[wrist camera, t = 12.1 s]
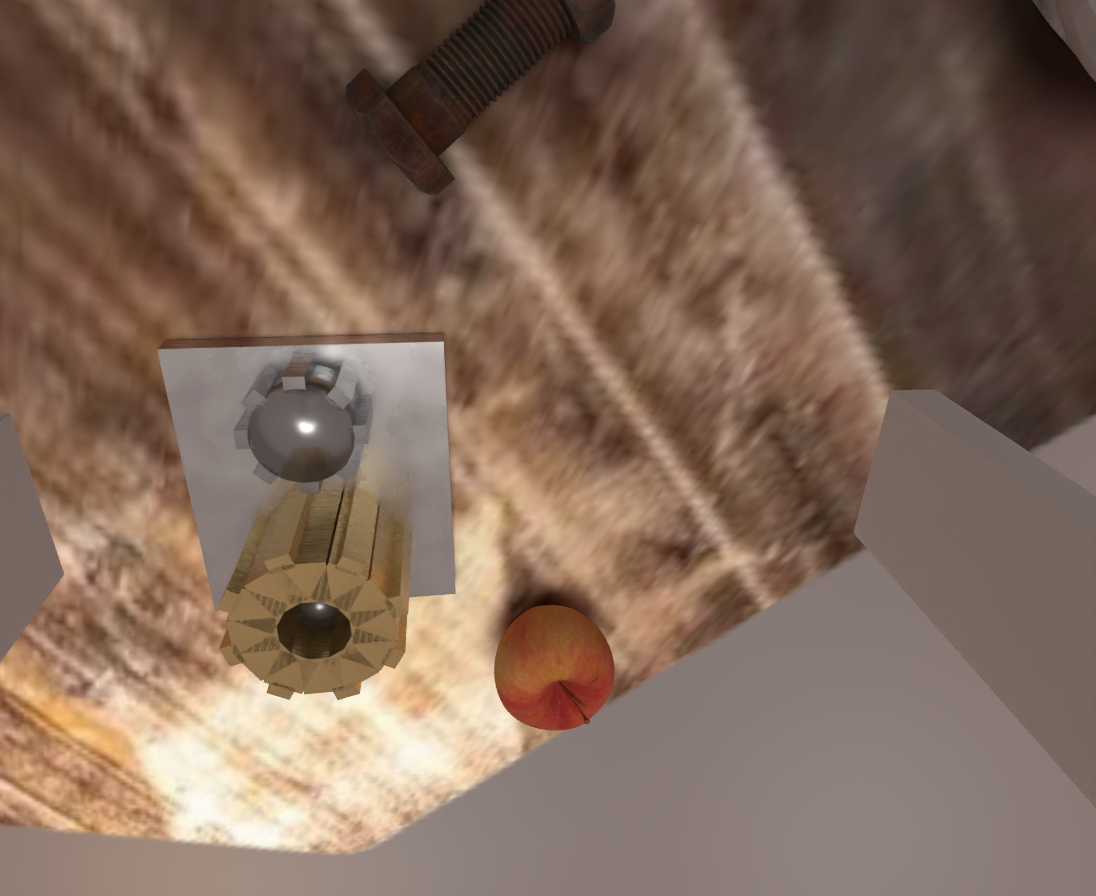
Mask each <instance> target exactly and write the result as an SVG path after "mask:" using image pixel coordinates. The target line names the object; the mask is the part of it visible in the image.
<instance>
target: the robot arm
mask: <svg viewBox="0 0 1096 896" xmlns="http://www.w3.org/2000/svg"><path fill="white" fill-rule="evenodd" d="M854 534H855V535H856V536H857V537H858V539H859V540H860V541H861V542H862V543H863V544H864V545H865V546H866V548H867V549H868V550H869V551H870V552H871V553H872V554H873V556H874V557H875V558H876V559H877V560H878V561H879V562H880V563H881V565H882V566H883V567H884V568H885V569H886V570H887V571H888V572H889V574H890V575H891V576H892V577H893V578H894V579H895V581H896V582H897V583H898V584H899V585H900V586H901V587H902V588H903V590H904V591H905V592H906V593H907V594H908V595H909V596H910V598H911V599H912V600H913V601H914V602H915V603H916V604H917V606H918V607H919V608H920V609H921V610H922V611H923V612H924V613H925V615H926V616H927V617H928V618H929V619H930V620H931V621H932V623H933V624H934V625H935V626H936V627H937V628H938V629H939V630H940V632H941V633H942V634H943V635H944V636H945V637H946V639H947V640H948V641H949V642H950V643H951V644H952V645H953V646H954V648H955V649H956V650H957V651H958V652H959V653H960V654H961V656H962V657H963V658H964V659H965V660H966V661H967V662H968V664H969V665H970V666H971V667H972V668H973V669H974V670H975V671H976V673H977V674H978V675H979V676H980V677H981V678H982V679H983V680H984V682H985V683H986V684H987V685H988V686H989V687H990V689H991V690H992V691H993V692H994V693H995V694H996V695H997V696H998V698H999V699H1000V700H1001V701H1002V702H1003V703H1004V704H1005V705H1006V707H1007V708H1008V709H1009V710H1010V711H1011V712H1012V714H1013V715H1014V716H1015V717H1016V718H1017V719H1018V720H1019V722H1020V723H1021V724H1022V725H1023V726H1024V727H1025V728H1026V729H1027V731H1028V732H1029V733H1030V734H1031V735H1032V736H1033V737H1034V739H1035V740H1036V741H1037V742H1038V743H1039V744H1040V745H1041V746H1042V748H1043V749H1044V750H1045V751H1046V752H1047V753H1048V754H1049V756H1050V757H1051V758H1052V759H1053V760H1054V761H1055V762H1056V764H1057V765H1058V766H1059V767H1060V768H1061V769H1062V770H1063V772H1064V773H1065V774H1066V775H1067V776H1068V777H1069V778H1070V779H1071V780H1072V782H1073V783H1074V784H1075V785H1076V786H1077V787H1078V789H1079V790H1080V791H1081V792H1082V793H1083V794H1084V795H1085V796H1086V798H1088V800H1089V801H1090V802H1091V803H1092V804H1093V806H1095V808H1096V496H1095V495H1093V494H1092V493H1090V492H1089V491H1087V490H1086V489H1084V488H1083V487H1081V486H1080V485H1078V484H1077V483H1075V482H1073V481H1072V480H1070V479H1069V478H1067V477H1066V476H1064V475H1063V474H1061V473H1060V472H1058V471H1057V470H1055V469H1054V468H1052V467H1051V466H1049V465H1048V464H1046V463H1045V462H1043V461H1042V460H1040V459H1039V458H1037V457H1036V456H1034V455H1033V454H1031V453H1030V452H1028V451H1027V450H1025V449H1024V448H1022V447H1021V446H1019V445H1018V444H1016V443H1015V442H1013V441H1012V440H1010V439H1009V438H1007V437H1006V436H1004V435H1003V434H1001V433H1000V432H998V431H997V430H995V429H994V428H992V427H991V426H989V425H988V424H986V423H984V422H983V421H981V420H980V419H978V418H977V417H975V416H974V415H972V414H971V413H969V412H968V411H966V410H965V409H963V408H962V407H960V406H959V405H957V404H956V403H954V402H953V401H951V400H950V399H948V398H947V397H945V396H944V395H942V394H941V393H939V392H938V391H936V390H898V391H891V393H890V396H889V400H888V404H887V408H886V412H885V415H884V419H883V423H882V427H881V431H880V435H879V438H878V442H877V446H876V450H875V454H874V457H873V461H872V465H871V469H870V473H869V476H868V480H867V484H866V488H865V492H864V495H863V499H862V503H861V507H860V511H859V514H858V518H857V522H856V526H855V530H854ZM63 575H64V572H63V569H62V566H61V563H60V560H59V557H58V554H57V551H56V548H55V545H54V542H53V539H52V536H51V533H50V530H49V527H48V524H47V521H46V518H45V515H44V512H43V509H42V506H41V503H40V500H39V497H38V494H37V491H36V488H35V485H34V482H33V479H32V476H31V473H30V470H29V467H28V464H27V461H26V458H25V455H24V452H23V449H22V446H21V443H20V440H19V437H18V434H17V431H16V428H15V425H14V423H13V420H12V417H11V414H10V413H4V414H0V662H1V660H2V659H3V658H4V656H5V655H6V653H7V652H8V651H9V649H10V648H11V647H12V645H13V644H14V642H15V641H16V640H17V638H18V637H19V636H20V634H21V633H22V631H23V630H24V629H25V627H26V626H27V625H28V623H29V622H30V620H31V619H32V618H33V616H34V615H35V614H36V612H37V611H38V609H39V608H40V607H41V605H42V604H43V603H44V601H45V600H46V598H47V597H48V596H49V594H50V593H51V592H52V590H53V589H54V587H55V586H56V585H57V583H58V582H59V581H60V579H61V578H62V576H63Z"/></svg>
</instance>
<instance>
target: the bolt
mask: <svg viewBox="0 0 1096 896" xmlns="http://www.w3.org/2000/svg"><path fill="white" fill-rule="evenodd" d="M479 11H480V13H478V12H474V14H473V15H474V19H473V18H471V17H469V18H468V24H466V23H463V24H462V29H457V30H456V34H457V35H454V34H451V35H450V40H451V41H450V40H447V39H445V40H444V44H445V46H444V45H439V46H438V48H439V51H436V50H433V51H432V52H433V57H432V56H429V55H428V56H427V57H426V58H427V61H428V62H425V61H422V62H420V63H419V64H418V65H417V66H416V67H412V68H411V69H410V70H408V71H407V72H406V73H405V74H404V75H403V76H402V77H401V78H400V79H399V80H398V81H397V82H395V83H394V84H393V85H392V86H391V87H390V88H389V89H388V90H387V91H386V92H385V91H384V90H383V89H382V87H381V86H380V85H379V84H378V83H377V82H376V80H375V79H374V78H373V77H372V76H371V74H370V73H369V72H368V71H367V70H366V69H365V68H364V69H363V70H362V71H361V72H360V73H359V74H358V75H357V76H356V77H355V78H354V79H353V80H352V81H351V82H350V83H349V84H347V85H346V101H347V104H348V106H349V108H350V109H351V110H352V111H353V113H354V114H355V115H356V116H357V118H358V119H359V120H360V122H361V123H362V124H363V125H364V127H365V128H366V129H367V130H368V131H369V133H370V134H371V135H372V136H373V138H374V139H375V140H376V141H377V142H378V144H379V145H380V146H381V148H382V149H383V150H384V151H385V153H386V154H387V155H388V156H389V157H390V158H391V159H392V160H393V162H394V163H395V164H396V165H397V166H398V167H399V168H400V169H401V170H402V172H403V173H404V174H405V175H406V176H407V177H408V178H409V179H410V180H411V181H412V182H413V183H414V185H415V186H416V187H417V188H418V189H419V190H420V191H421V192H423V193H426V194H431V195H437V194H438V193H440V192H441V191H442V190H443V189H444V188H445V187H446V186H448V185H449V184H450V183H451V182H452V181H453V180H454V179H455V178H454V177H453V175H452V174H451V173H450V171H449V170H448V169H447V168H446V166H445V165H444V164H443V162H442V161H441V160H440V159H439V157H438V156H439V155H440V154H442V153H443V152H444V151H445V150H446V149H447V148H448V147H449V146H450V145H451V144H452V143H453V142H454V141H456V140H457V139H458V138H459V137H460V136H461V135H462V134H463V133H464V131H465V128H466V127H467V126H468V125H469V123H470V122H471V123H472V122H473V121H474V118H473V115H475V116H476V117H479V110H480V111H482V112H484V111H485V105H486V106H488V107H490V100H493V101H495V102H496V101H497V100H496V94H497V95H499V96H502V89H503V90H506V91H508V90H509V86H508V84H510V85H512V86H513V85H514V79H515V80H518V81H519V79H520V75H519V74H521V75H525V69H527V70H530V69H531V64H533V65H536V64H537V59H541V60H542V53H544V54H548V48H551V49H554V42H555V43H560V37H561V38H566V34H568V35H569V36H570V37H571V38H572V39H573V40H575V41H577V42H585V43H592V42H594V41H595V40H596V39H597V38H598V37H599V36H600V35H601V34H603V33H604V32H605V31H606V30H607V29H608V28H609V27H610V26H611V23H612V20H613V16H614V11H615V2H614V0H491V1H488V0H487V1H486V3H485V7H483V6H480V9H479Z"/></svg>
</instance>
